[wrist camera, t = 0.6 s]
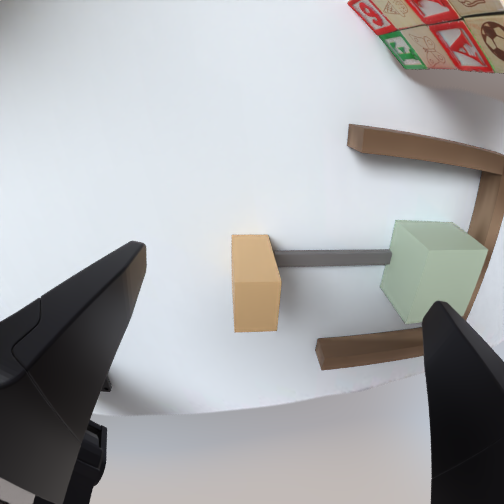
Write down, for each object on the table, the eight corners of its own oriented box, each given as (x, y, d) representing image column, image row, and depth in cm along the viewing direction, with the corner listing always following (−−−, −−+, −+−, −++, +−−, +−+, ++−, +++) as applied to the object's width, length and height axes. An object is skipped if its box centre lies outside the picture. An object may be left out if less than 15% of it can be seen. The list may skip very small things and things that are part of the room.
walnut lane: (441, 334, 30) (452, 349, 27) (315, 350, 28) (321, 370, 26) (496, 151, 21) (515, 159, 18) (348, 123, 19) (364, 128, 17)
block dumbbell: (434, 283, 26) (469, 323, 21) (231, 292, 25) (234, 347, 19) (452, 222, 23) (496, 256, 18) (231, 217, 22) (234, 261, 17)
